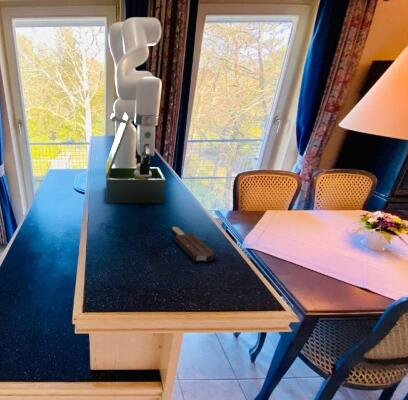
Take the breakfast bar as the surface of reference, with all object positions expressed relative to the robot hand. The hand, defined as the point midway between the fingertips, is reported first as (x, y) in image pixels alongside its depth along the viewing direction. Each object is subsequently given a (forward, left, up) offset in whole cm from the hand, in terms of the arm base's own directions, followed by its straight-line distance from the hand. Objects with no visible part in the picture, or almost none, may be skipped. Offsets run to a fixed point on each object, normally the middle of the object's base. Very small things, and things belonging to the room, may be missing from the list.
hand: (142, 169), depth 93 cm
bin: (+3, -2, -10) cm, 10 cm away
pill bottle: (0, +1, -9) cm, 9 cm away
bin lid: (+7, -6, +9) cm, 13 cm away
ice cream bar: (+16, +28, -10) cm, 34 cm away
